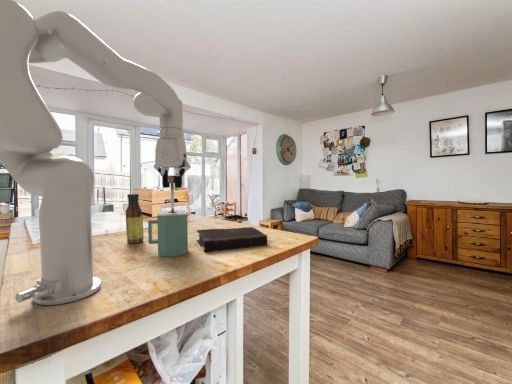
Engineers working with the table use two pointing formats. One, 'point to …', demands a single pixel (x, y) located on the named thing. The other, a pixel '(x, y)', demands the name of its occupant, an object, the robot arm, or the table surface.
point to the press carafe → (170, 233)
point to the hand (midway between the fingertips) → (172, 187)
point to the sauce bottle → (134, 220)
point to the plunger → (171, 180)
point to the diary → (230, 238)
